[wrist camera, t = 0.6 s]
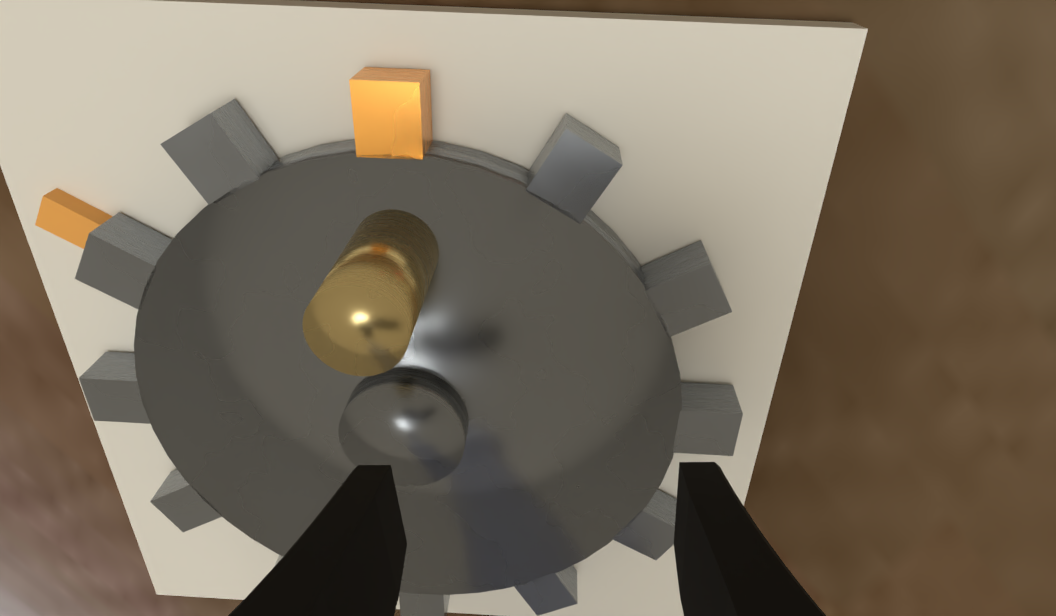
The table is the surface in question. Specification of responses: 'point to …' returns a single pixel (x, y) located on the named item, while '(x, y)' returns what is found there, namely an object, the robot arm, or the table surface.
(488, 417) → the sprocket
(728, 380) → the base board
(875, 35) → the table surface
